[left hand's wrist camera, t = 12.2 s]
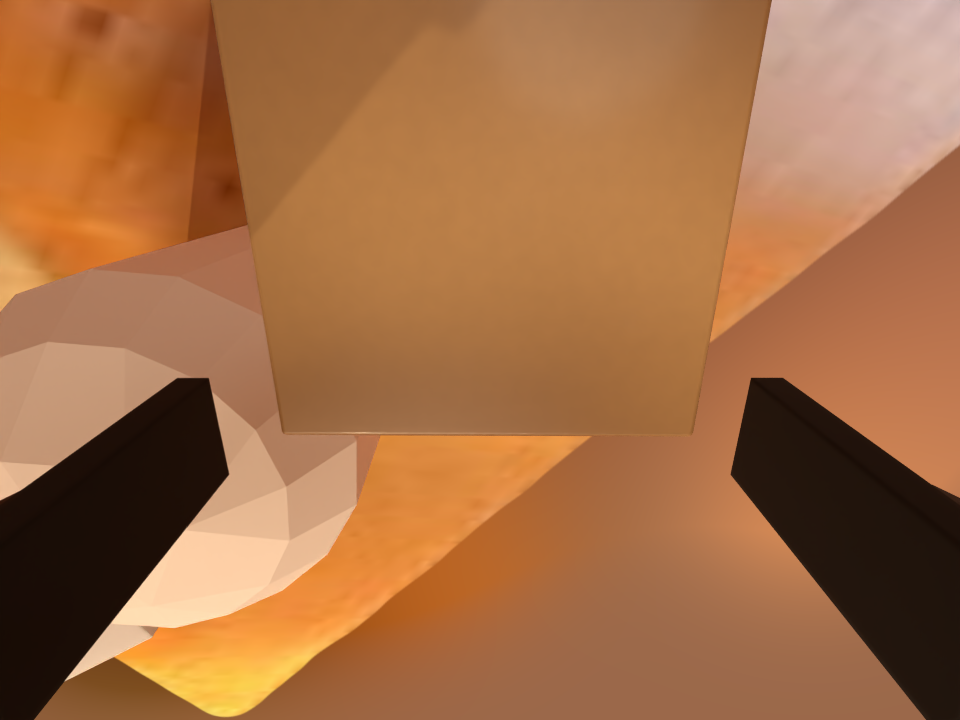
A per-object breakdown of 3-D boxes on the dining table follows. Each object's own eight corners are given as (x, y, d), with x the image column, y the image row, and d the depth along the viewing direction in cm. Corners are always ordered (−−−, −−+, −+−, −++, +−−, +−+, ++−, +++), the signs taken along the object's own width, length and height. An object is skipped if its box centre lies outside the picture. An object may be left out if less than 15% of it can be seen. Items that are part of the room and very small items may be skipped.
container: (424, 423, 50) (365, 705, 24) (216, 444, 51) (-56, 737, 25) (388, 206, 43) (246, 277, 17) (144, 233, 44) (-352, 342, 18)
